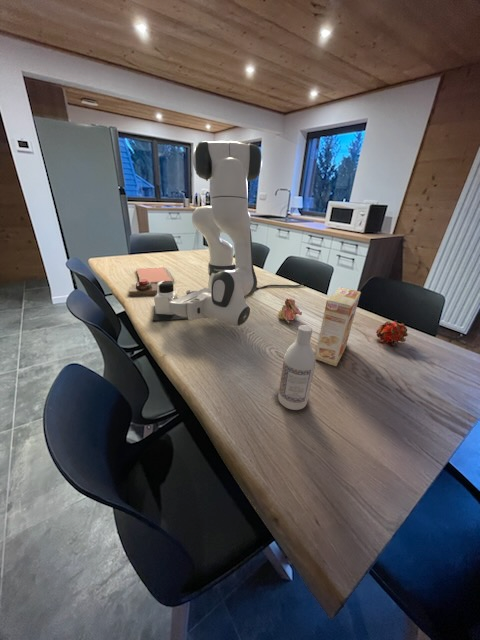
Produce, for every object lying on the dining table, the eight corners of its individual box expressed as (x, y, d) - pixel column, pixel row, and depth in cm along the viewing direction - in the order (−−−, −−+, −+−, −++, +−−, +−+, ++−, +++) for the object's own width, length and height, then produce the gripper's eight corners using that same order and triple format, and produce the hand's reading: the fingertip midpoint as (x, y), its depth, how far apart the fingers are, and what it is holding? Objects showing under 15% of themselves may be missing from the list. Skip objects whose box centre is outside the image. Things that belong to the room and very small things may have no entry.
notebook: (174, 283, 139) (174, 279, 138) (141, 286, 132) (140, 282, 131) (165, 269, 161) (165, 266, 160) (136, 271, 154) (136, 268, 153)
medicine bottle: (178, 308, 109) (176, 280, 104) (173, 315, 103) (171, 285, 98) (161, 306, 110) (158, 279, 104) (155, 314, 103) (152, 284, 98)
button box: (157, 287, 131) (157, 280, 130) (157, 294, 123) (156, 286, 121) (132, 288, 128) (131, 280, 127) (129, 296, 120) (128, 287, 118)
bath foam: (287, 387, 69) (298, 317, 60) (311, 400, 65) (327, 328, 56) (272, 400, 64) (282, 327, 55) (297, 415, 60) (313, 339, 51)
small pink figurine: (276, 324, 102) (271, 302, 105) (287, 328, 110) (282, 307, 113) (298, 317, 97) (292, 294, 100) (308, 322, 105) (302, 300, 108)
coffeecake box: (336, 367, 78) (352, 306, 69) (313, 358, 81) (325, 299, 72) (347, 345, 89) (362, 291, 81) (326, 339, 93) (338, 286, 84)
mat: (188, 305, 114) (188, 304, 114) (191, 319, 102) (191, 318, 101) (154, 306, 110) (154, 305, 110) (153, 321, 98) (152, 320, 98)
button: (148, 283, 126) (147, 278, 125) (147, 285, 123) (147, 281, 122) (139, 283, 125) (139, 279, 124) (138, 286, 122) (138, 281, 121)
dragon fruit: (402, 344, 95) (375, 353, 92) (390, 324, 98) (363, 331, 96) (419, 335, 88) (390, 344, 85) (405, 313, 91) (377, 321, 88)
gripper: (224, 288, 100) (197, 281, 107) (187, 304, 84) (157, 294, 91) (224, 304, 103) (197, 296, 109) (187, 322, 87) (159, 311, 94)
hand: (178, 295), depth 100 cm, fingers open, 8 cm apart
